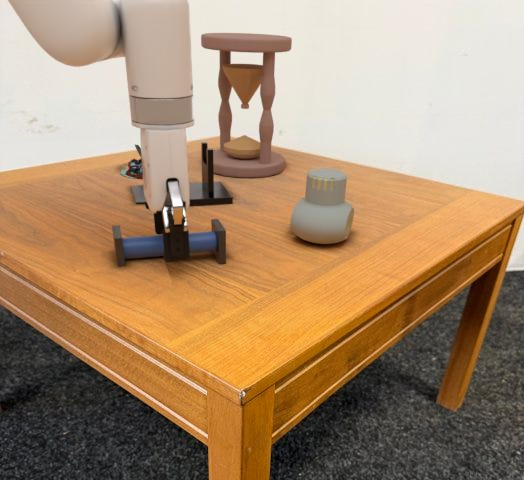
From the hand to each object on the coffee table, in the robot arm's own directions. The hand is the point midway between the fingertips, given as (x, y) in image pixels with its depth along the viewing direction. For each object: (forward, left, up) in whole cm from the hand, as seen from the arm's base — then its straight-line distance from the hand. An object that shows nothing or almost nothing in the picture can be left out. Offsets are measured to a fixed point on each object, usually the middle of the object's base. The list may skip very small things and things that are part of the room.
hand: (171, 245), depth 75 cm
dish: (+1, +46, -3) cm, 46 cm away
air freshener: (+24, +4, -3) cm, 24 cm away
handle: (0, 0, -2) cm, 2 cm away
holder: (+6, +28, -2) cm, 29 cm away
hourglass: (+23, +47, -3) cm, 52 cm away
